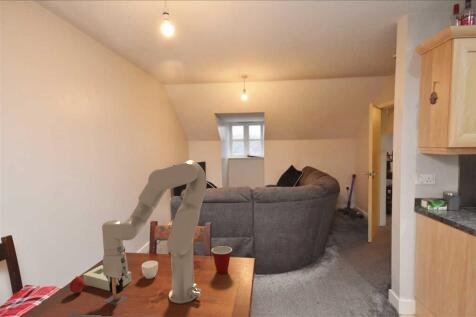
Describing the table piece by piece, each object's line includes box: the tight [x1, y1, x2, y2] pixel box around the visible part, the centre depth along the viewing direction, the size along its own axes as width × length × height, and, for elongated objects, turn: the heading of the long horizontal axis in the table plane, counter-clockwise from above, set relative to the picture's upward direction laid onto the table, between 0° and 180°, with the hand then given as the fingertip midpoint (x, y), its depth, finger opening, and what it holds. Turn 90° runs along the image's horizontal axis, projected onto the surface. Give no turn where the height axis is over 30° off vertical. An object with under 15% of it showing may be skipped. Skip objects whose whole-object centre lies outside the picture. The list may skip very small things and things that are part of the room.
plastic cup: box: [211, 245, 233, 275], centre depth 133 cm, size 11×11×12 cm
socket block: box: [82, 264, 132, 292], centre depth 124 cm, size 20×10×5 cm, turn 68°
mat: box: [103, 294, 129, 306], centre depth 110 cm, size 8×6×1 cm
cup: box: [141, 260, 159, 279], centre depth 130 cm, size 8×10×7 cm
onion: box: [69, 275, 86, 294], centre depth 116 cm, size 6×6×8 cm
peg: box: [112, 277, 122, 300], centre depth 110 cm, size 3×3×10 cm
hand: (116, 291), depth 110 cm, fingers closed on peg, 3 cm apart
